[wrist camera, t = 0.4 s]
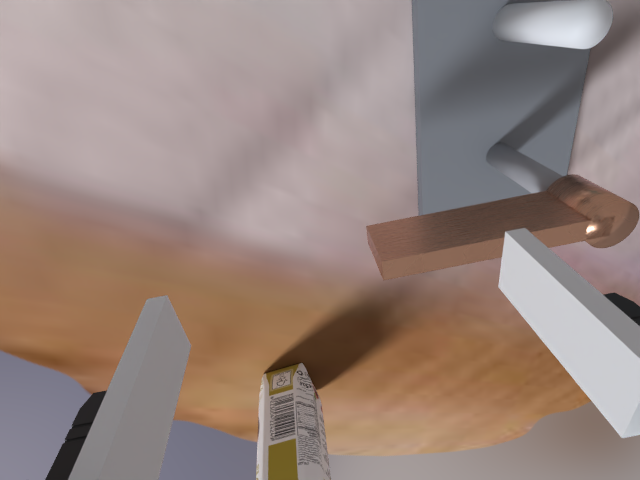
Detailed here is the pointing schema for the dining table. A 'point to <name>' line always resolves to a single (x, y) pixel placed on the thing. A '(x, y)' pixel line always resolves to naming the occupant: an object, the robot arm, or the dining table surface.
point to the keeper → (502, 227)
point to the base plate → (498, 94)
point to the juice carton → (291, 428)
